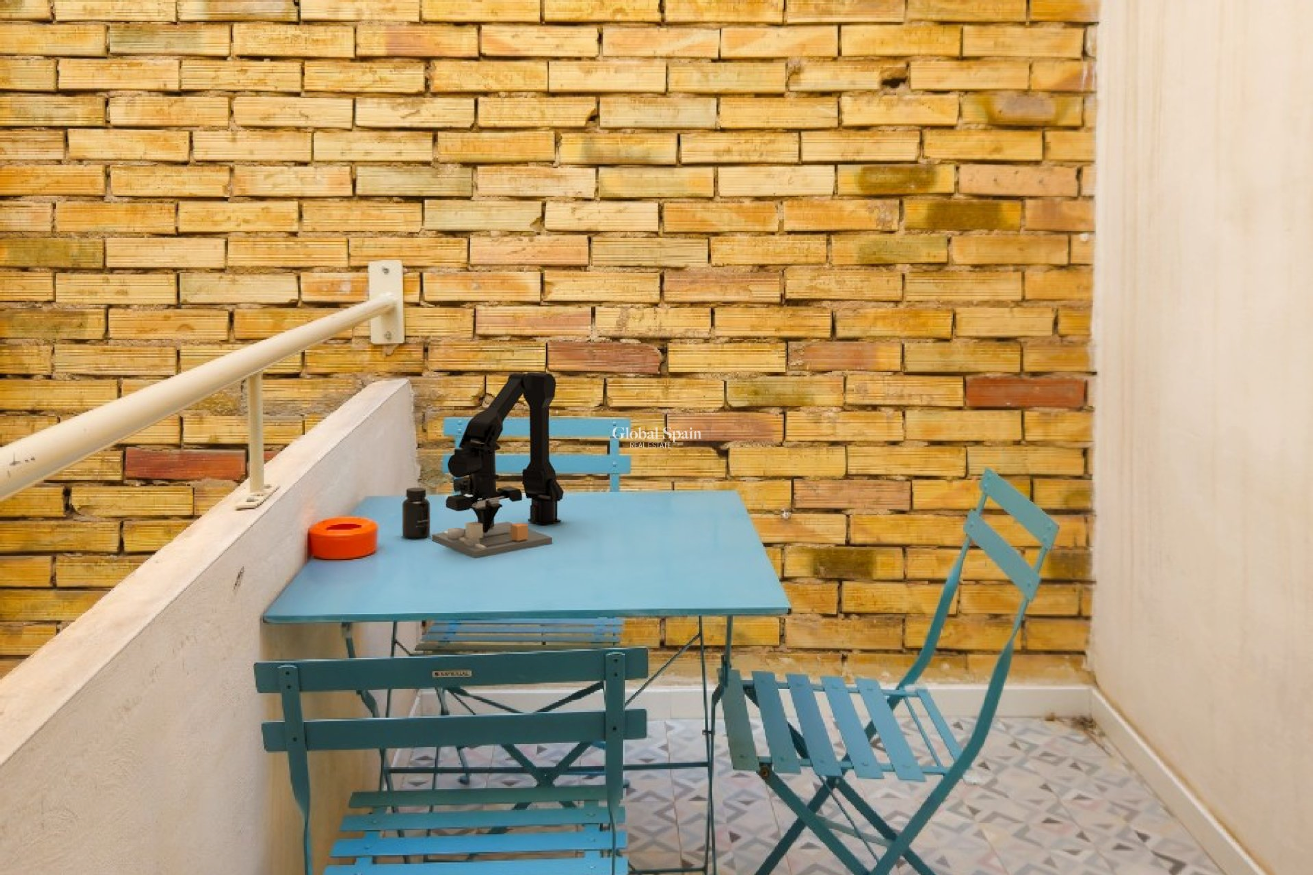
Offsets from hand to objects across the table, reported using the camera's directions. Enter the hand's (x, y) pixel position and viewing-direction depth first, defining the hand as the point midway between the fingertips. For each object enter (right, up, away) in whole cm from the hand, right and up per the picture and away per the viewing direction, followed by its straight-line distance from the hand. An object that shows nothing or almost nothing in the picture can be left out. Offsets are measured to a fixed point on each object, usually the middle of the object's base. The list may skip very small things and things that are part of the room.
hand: (485, 532), depth 302 cm
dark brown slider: (-1, +1, +9) cm, 9 cm away
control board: (+1, -2, +2) cm, 3 cm away
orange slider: (+9, -1, -2) cm, 9 cm away
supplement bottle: (-18, -2, +6) cm, 19 cm away
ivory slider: (-2, -1, -2) cm, 3 cm away
